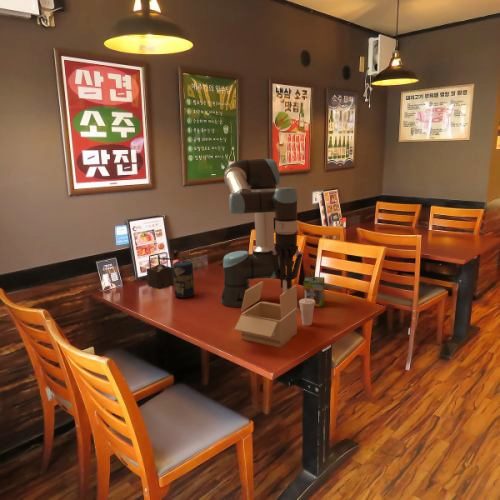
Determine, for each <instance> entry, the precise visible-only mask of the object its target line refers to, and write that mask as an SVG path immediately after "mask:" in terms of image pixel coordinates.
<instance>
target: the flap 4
mask: <svg viewBox="0 0 500 500" xmlns="http://www.w3.org/2000/svg"><path fill="white" fill-rule="evenodd" d="M297 288H298V287H297V284H295V285H292V287H291V288H290V289H289V290H288V291H286V292H284V293H283V292H282V294H280V295H279V304H280V309H281V318H283V317H284V316H286V315H287V314H288V313H290V312H291V311H292V310H293V309H295V308H296V307H297V308H298V290H297Z"/></svg>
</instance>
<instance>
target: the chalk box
mask: <svg viewBox="0 0 500 500" xmlns="http://www.w3.org/2000/svg"><path fill="white" fill-rule="evenodd" d="M305 290H306V298H308V299H313V300H315V305H314V308H315V307H317V308H319V307H320V308H324V307H325V277H324V276H315V274H314V271H313V270H312V271H311V276H304V280H303V299H305Z"/></svg>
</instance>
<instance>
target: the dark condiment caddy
mask: <svg viewBox="0 0 500 500" xmlns="http://www.w3.org/2000/svg"><path fill="white" fill-rule="evenodd" d="M171 253H172V257H171V258H170V257H161V255H160V254H157V261H158V264H156V265H154V266H152V267H148V268H146V278H147V286H148V285H149V286H148V287H151V286H152V288H155V289H157V288H158V289H157V290H160V289H164V288H167V287H170V286H174V275H173V266H168V265H165V264H162V263H161V260H162V261H163V260H166V261H167V260H168V261H173V260H174V261H175V260H178V259H179V258H178V257H179V255H180V251H179V250H173V251H172V252H171Z"/></svg>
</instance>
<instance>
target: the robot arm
mask: <svg viewBox="0 0 500 500" xmlns="http://www.w3.org/2000/svg"><path fill="white" fill-rule="evenodd" d="M280 176H281V175H280V169H279V166H278V163H277V161H276V160H275V159H273V158H255V159H240V160H237V161H234V162H232V163H231V164H229V165H228V166H227V167H226V169H225V171H224V173H223V181H224V184H225V186H226V187H228V188H229V191H230V194H229V196H228V200H229V201H228V202H229V203H228V206H229V211H230V213H231V214H232V215H233V214H235V215H236V214H237V215H243V214H244V215H245V214H254V230H255V231H254V232H255V234H254V235H255V236H254V237H255V238H254V239H255V247H253V249H252V253H251V254H250V253H249V251H247V250H236V251H232V252H229V253H226V254H225V255H224V257H223V264H222V268H223V282H224V283H223V284H224V285H223V290H222V293H221V296H220V299H221V301H220V302H221V304H222V305H223V306H225V307H230V308H242V304H243V299H244V294H245V291H246V290H248V289H249V288H251V286H250V280H258V279H259V280H262V279H273V278H277V279H278V278H279V280H280V288H281V289H282V294H283V293H284V292H286V291H288V290H289V289H290V288H292V287H293V284H292V283H293V282H292V280H295V279H296V278H297V277H298V273H299V270H300V266H301V262H302V259H303V257H304V256H305V253H304V252H300V250H299V247H298V245H297V244H298V233H297V232H298V192H297V191H298V189H297V188H296V187H293V186H285V187H284V186H282V187H280V186H279V184H280V182H281V181H280V178H281V177H280ZM277 186H279V187H277ZM274 214H275V215H274ZM274 217H275V218H274ZM274 219H275V220H274ZM274 222H275V223H274ZM274 225H275V228H274ZM275 232H276V233H275ZM294 256H295V258H294ZM293 260H294V264H293Z"/></svg>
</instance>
